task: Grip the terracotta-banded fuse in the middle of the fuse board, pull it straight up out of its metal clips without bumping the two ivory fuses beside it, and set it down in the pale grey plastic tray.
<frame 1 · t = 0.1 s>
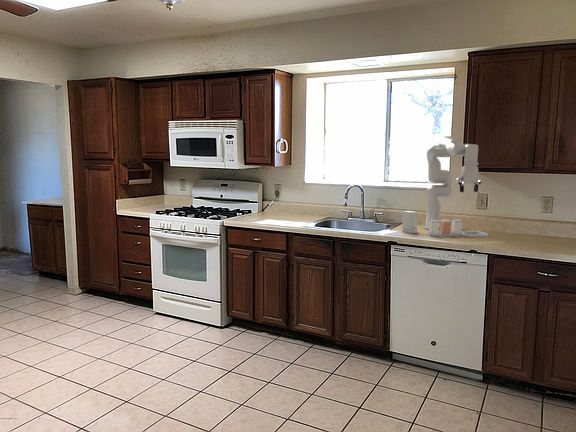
hand: (468, 192, 290), 31 cm above the worktop, tool pointing down, fingers open, 9 cm apart
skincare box: (409, 234, 316), on the worktop
marked fuse: (444, 235, 305), point 1 cm above the worktop, touching fuse board
fuse board: (444, 237, 305), on the worktop
right fuse: (456, 234, 306), point 1 cm above the worktop, touching fuse board
left fuse: (433, 235, 303), point 1 cm above the worktop, touching fuse board
tray: (472, 236, 308), on the worktop
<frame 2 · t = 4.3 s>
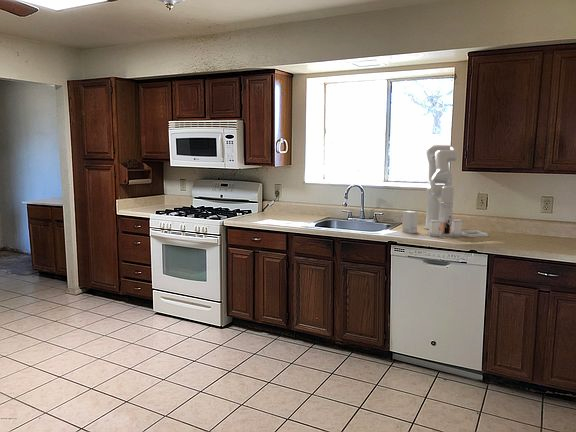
hand: (445, 232, 304), 3 cm above the worktop, tool pointing down, fingers closed on marked fuse, 4 cm apart
marked fuse: (444, 235, 305), point 2 cm above the worktop, touching fuse board, gripper
everything else where it was.
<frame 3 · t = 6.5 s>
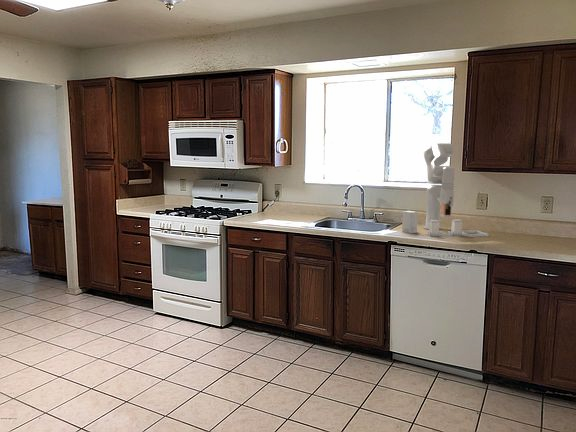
hand: (445, 213, 303), 16 cm above the worktop, tool pointing down, fingers closed on marked fuse, 4 cm apart
marked fuse: (445, 216, 303), point 14 cm above the worktop, touching gripper
everything else where it was.
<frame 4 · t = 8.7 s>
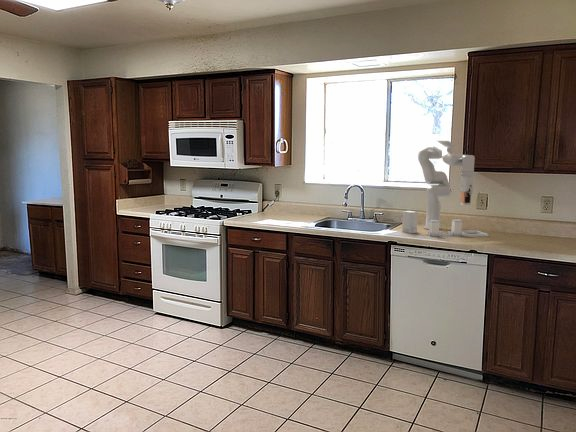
hand: (465, 202, 303), 23 cm above the worktop, tool pointing down, fingers closed on marked fuse, 4 cm apart
marked fuse: (465, 204, 304), point 21 cm above the worktop, touching gripper
everything else where it was.
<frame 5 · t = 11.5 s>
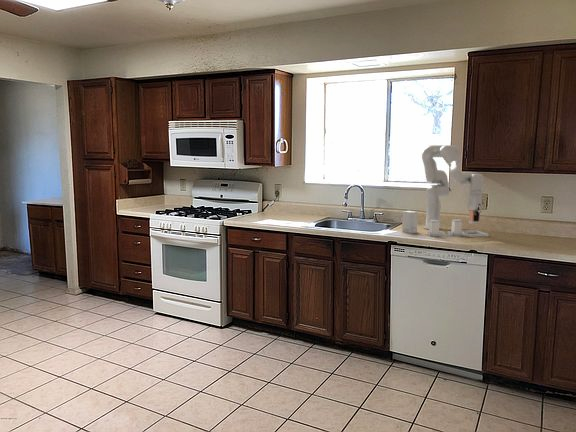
hand: (474, 220, 306), 11 cm above the worktop, tool pointing down, fingers closed on marked fuse, 4 cm apart
marked fuse: (474, 222, 306), point 9 cm above the worktop, touching gripper
everything else where it was.
when the fingers open (4 cm above the worktop, at t = 13.6 s): marked fuse drops 2 cm, resting on tray.
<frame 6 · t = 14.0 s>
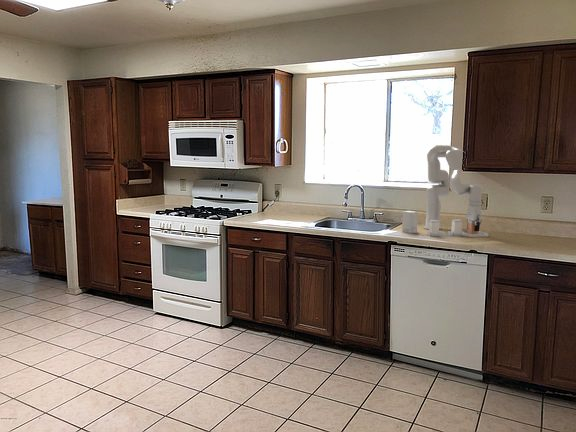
hand: (473, 229, 307), 5 cm above the worktop, tool pointing down, fingers open, 7 cm apart
marked fuse: (472, 235, 308), point 1 cm above the worktop, touching tray
everything else where it was.
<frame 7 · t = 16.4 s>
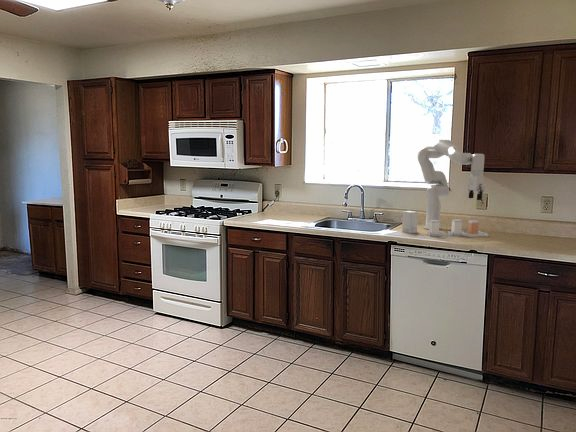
hand: (475, 199, 304), 25 cm above the worktop, tool pointing down, fingers open, 9 cm apart
nothing on the worktop moved.
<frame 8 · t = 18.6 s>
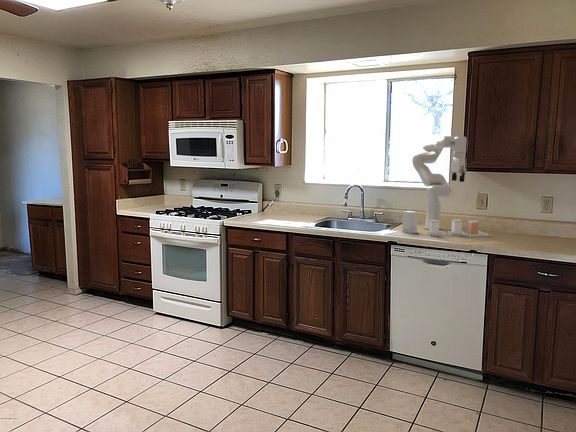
hand: (457, 181, 310), 36 cm above the worktop, tool pointing down, fingers open, 9 cm apart
nothing on the worktop moved.
at the end: marked fuse inside the target area on the tray (0.1 cm from its centre), point 0.6 cm above the tray's base; left fuse moved 0.0 cm from its start; right fuse moved 0.0 cm from its start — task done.
